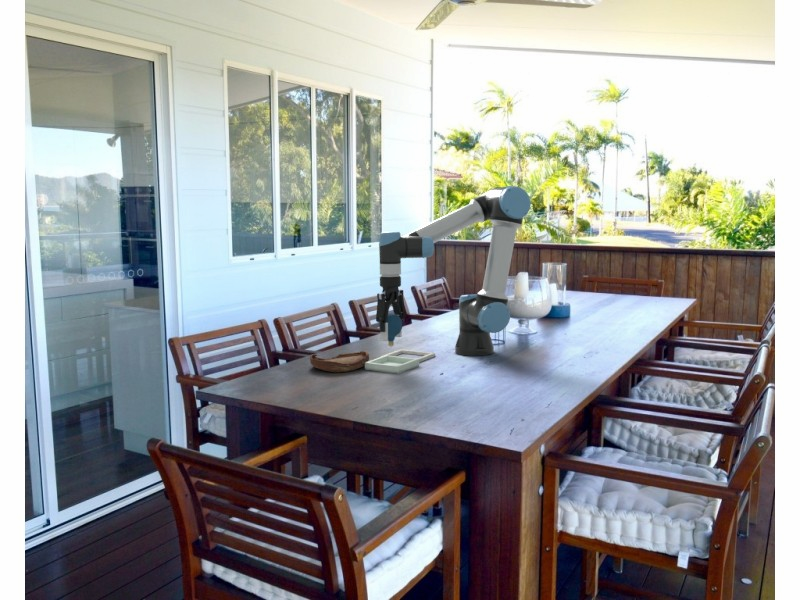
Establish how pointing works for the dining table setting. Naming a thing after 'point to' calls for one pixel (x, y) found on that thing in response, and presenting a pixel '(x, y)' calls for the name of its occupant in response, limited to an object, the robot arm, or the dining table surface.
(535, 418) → the dining table surface
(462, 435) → the dining table surface
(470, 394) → the dining table surface
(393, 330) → the light bulb
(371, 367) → the tray
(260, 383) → the dining table surface
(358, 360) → the basket
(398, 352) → the pale square frame
